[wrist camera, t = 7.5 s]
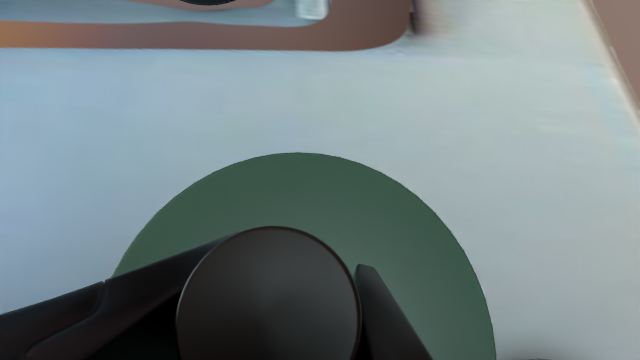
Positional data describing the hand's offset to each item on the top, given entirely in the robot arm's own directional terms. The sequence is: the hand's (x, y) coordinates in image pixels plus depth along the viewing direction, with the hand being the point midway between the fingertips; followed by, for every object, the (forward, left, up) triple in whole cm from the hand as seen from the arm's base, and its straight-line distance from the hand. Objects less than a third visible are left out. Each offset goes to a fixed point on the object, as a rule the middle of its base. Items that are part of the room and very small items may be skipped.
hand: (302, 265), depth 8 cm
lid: (-1, 0, -4) cm, 4 cm away
